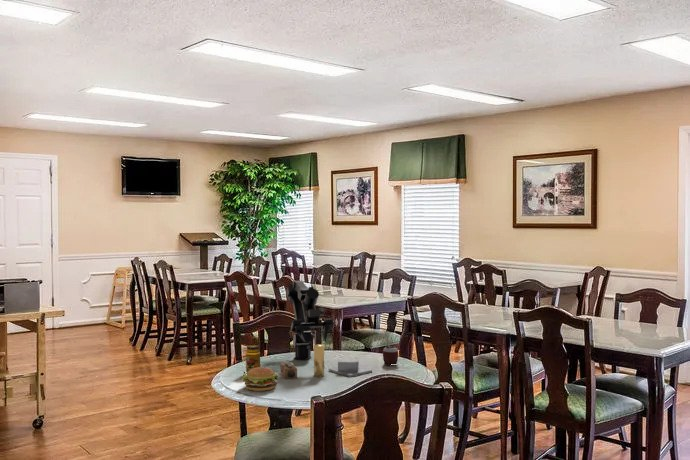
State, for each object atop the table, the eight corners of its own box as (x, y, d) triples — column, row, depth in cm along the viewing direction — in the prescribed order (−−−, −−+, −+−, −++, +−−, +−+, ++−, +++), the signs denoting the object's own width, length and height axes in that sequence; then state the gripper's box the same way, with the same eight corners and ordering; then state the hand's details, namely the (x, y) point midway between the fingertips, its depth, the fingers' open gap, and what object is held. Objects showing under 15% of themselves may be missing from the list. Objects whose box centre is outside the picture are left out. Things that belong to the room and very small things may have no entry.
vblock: (328, 371, 284) (328, 359, 284) (350, 366, 293) (350, 355, 293) (350, 377, 274) (350, 365, 274) (372, 372, 282) (372, 360, 282)
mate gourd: (395, 367, 292) (396, 334, 292) (379, 365, 295) (379, 333, 294) (399, 363, 299) (400, 331, 299) (383, 362, 302) (383, 330, 301)
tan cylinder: (312, 376, 275) (312, 346, 274) (316, 374, 279) (316, 344, 278) (321, 377, 273) (321, 347, 273) (325, 375, 277) (326, 345, 277)
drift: (284, 363, 281) (284, 359, 281) (288, 363, 281) (288, 359, 281) (288, 368, 272) (288, 364, 272) (292, 368, 273) (292, 364, 273)
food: (234, 388, 257) (234, 368, 256) (263, 381, 266) (263, 362, 266) (255, 395, 247) (255, 374, 247) (284, 388, 257) (284, 368, 256)
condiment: (246, 376, 275) (246, 348, 275) (243, 371, 283) (243, 344, 283) (263, 375, 277) (263, 347, 277) (259, 370, 285) (259, 343, 285)
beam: (280, 372, 282) (280, 362, 282) (291, 371, 283) (291, 362, 283) (285, 379, 270) (285, 369, 270) (297, 378, 272) (297, 368, 272)
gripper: (292, 301, 285) (297, 331, 275) (333, 300, 291) (339, 330, 281) (288, 316, 293) (293, 346, 283) (328, 315, 298) (334, 344, 288)
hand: (315, 341), depth 284 cm, fingers open, 9 cm apart
